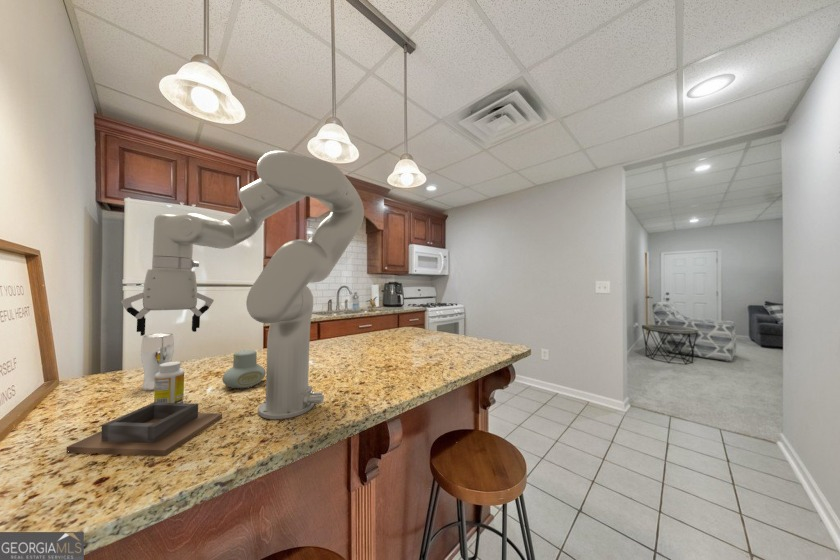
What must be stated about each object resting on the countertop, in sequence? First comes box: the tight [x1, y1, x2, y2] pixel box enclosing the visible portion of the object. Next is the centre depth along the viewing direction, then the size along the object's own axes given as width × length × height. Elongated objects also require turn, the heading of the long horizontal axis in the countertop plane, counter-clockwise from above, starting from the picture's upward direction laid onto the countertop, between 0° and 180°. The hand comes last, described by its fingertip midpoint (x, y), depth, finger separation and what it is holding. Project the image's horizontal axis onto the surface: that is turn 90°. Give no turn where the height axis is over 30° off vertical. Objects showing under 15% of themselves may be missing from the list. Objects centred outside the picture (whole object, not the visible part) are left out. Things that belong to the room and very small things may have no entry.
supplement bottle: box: [153, 361, 185, 403], centre depth 70 cm, size 6×6×10 cm
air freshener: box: [222, 349, 266, 390], centre depth 84 cm, size 11×8×10 cm
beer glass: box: [140, 332, 175, 392], centre depth 82 cm, size 7×7×15 cm
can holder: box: [66, 401, 223, 457], centre depth 57 cm, size 18×14×4 cm
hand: (169, 332), depth 70 cm, fingers open, 9 cm apart
